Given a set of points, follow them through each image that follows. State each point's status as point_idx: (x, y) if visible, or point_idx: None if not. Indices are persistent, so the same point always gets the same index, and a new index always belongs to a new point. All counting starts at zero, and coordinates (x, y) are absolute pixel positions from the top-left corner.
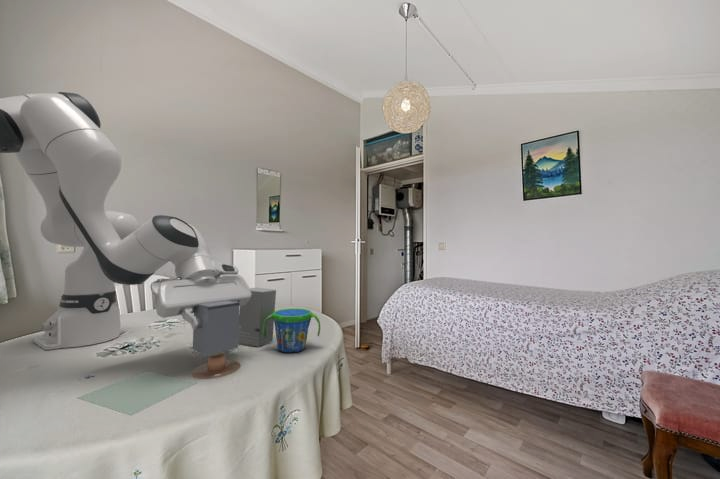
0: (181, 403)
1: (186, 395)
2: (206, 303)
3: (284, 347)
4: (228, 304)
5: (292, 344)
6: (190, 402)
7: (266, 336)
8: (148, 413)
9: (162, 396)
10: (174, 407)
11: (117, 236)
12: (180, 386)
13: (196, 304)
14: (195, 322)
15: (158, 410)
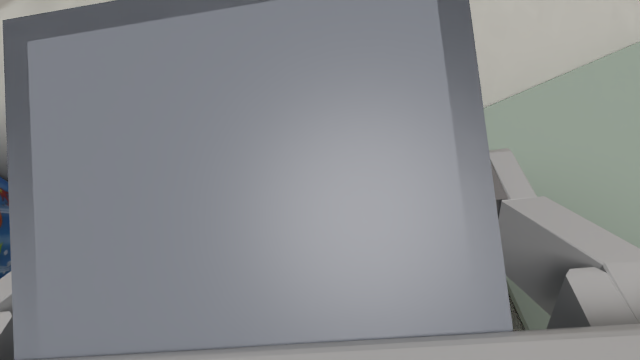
0: (515, 37)
1: (485, 87)
2: (374, 296)
3: (6, 199)
4: None
5: None
6: (489, 23)
7: None
8: (619, 40)
9: (573, 97)
10: (540, 24)
11: None
12: (498, 140)
13: (531, 333)
14: (511, 159)
15: (588, 39)
